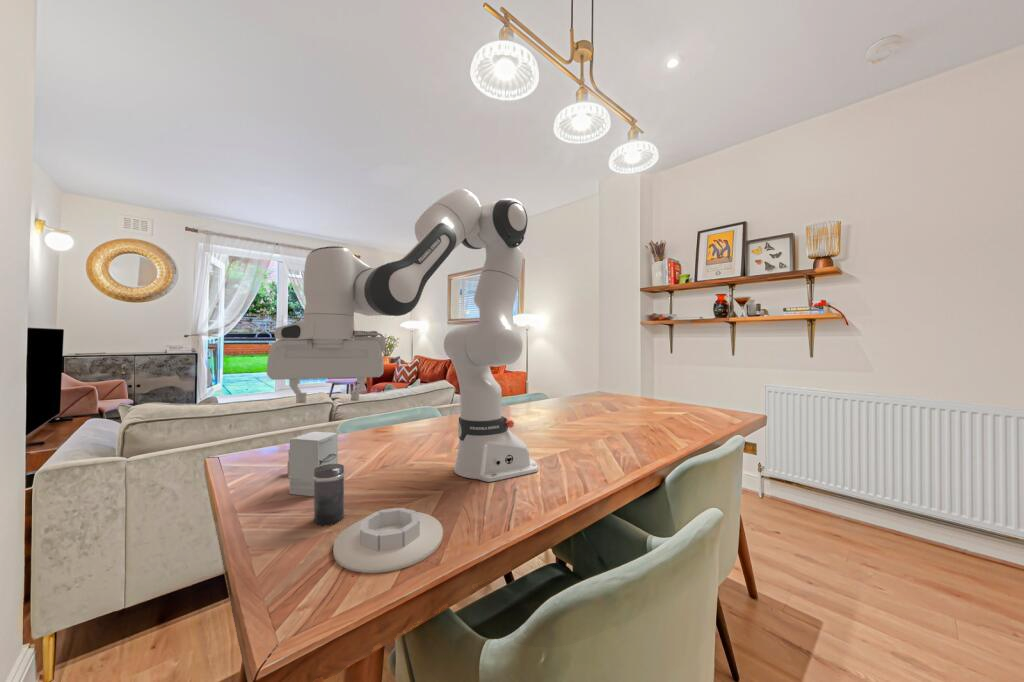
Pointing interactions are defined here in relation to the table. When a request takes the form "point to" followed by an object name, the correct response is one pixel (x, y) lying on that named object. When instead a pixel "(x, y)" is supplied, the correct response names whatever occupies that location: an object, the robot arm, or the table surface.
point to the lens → (328, 494)
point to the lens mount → (388, 541)
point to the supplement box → (310, 459)
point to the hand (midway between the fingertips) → (328, 401)
